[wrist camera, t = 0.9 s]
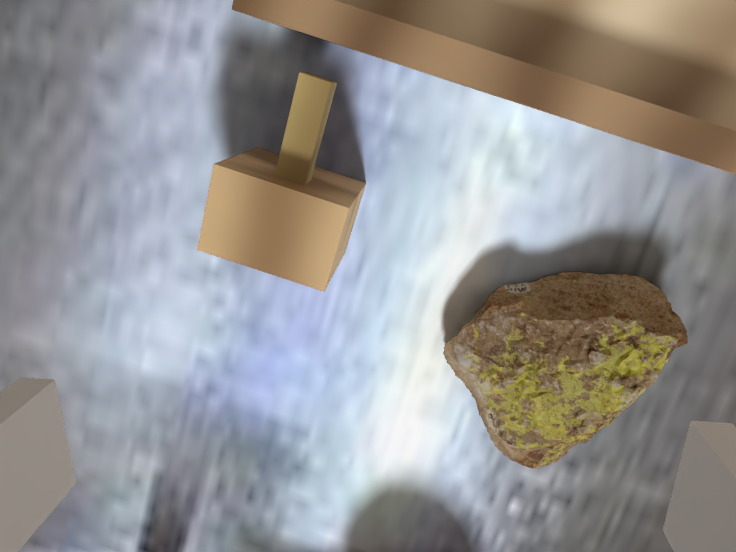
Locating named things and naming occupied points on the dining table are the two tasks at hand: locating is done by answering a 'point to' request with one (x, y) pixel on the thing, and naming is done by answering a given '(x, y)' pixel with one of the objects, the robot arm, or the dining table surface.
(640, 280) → the rock
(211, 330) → the dining table surface
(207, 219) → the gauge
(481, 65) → the board
